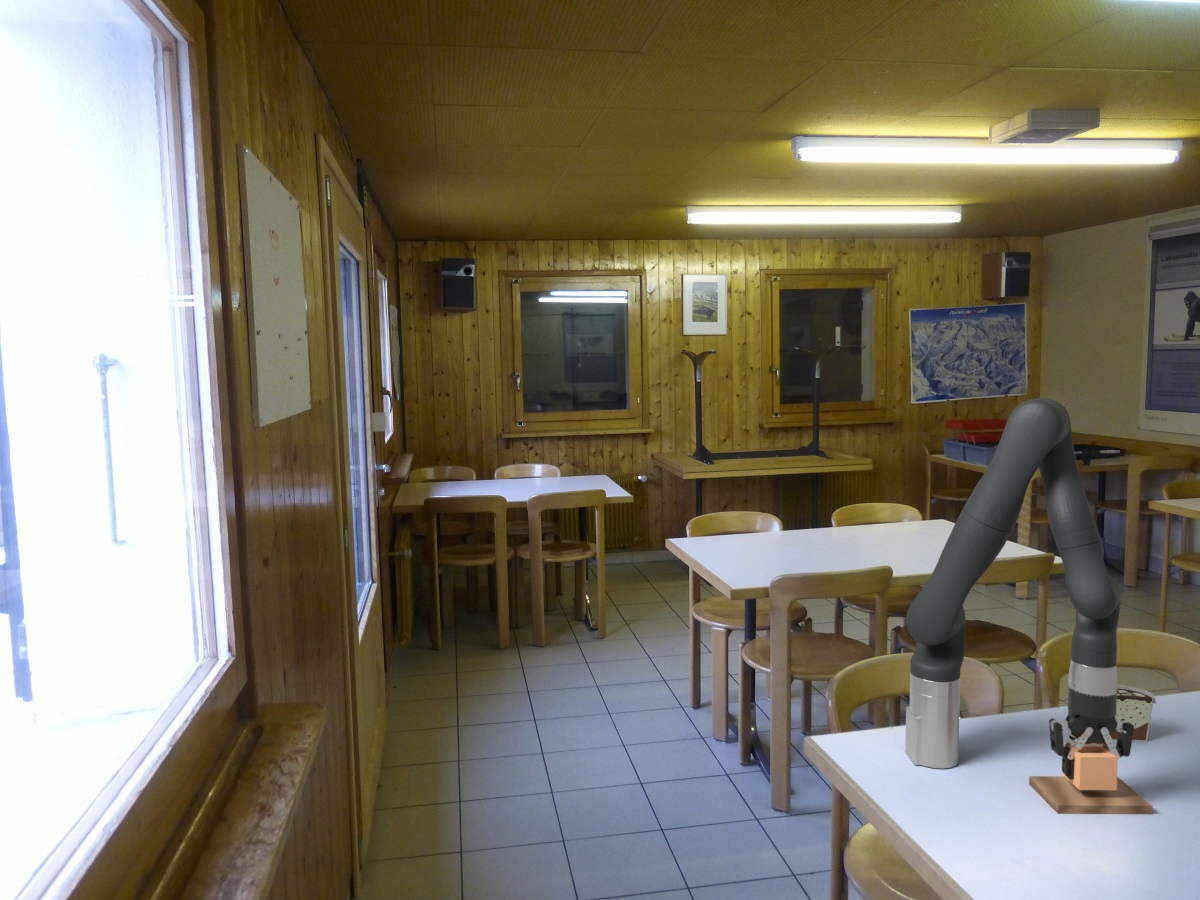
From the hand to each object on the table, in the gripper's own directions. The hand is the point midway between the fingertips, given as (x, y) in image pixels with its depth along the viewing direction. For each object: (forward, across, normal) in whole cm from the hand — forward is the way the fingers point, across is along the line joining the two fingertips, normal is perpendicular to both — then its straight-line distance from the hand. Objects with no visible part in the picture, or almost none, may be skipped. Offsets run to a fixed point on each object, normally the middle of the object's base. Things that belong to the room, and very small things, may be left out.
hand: (1089, 777), depth 156 cm
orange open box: (+1, 0, 0) cm, 1 cm away
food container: (+4, +20, +28) cm, 35 cm away
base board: (+4, 0, 0) cm, 4 cm away
